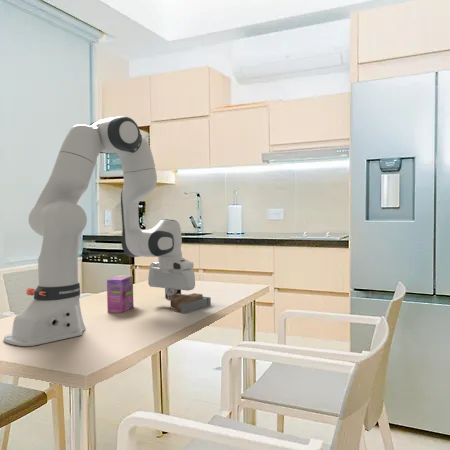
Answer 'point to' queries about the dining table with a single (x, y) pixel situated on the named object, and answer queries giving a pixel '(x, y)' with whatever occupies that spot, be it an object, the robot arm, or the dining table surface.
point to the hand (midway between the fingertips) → (171, 300)
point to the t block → (183, 300)
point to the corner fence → (195, 305)
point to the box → (120, 293)
